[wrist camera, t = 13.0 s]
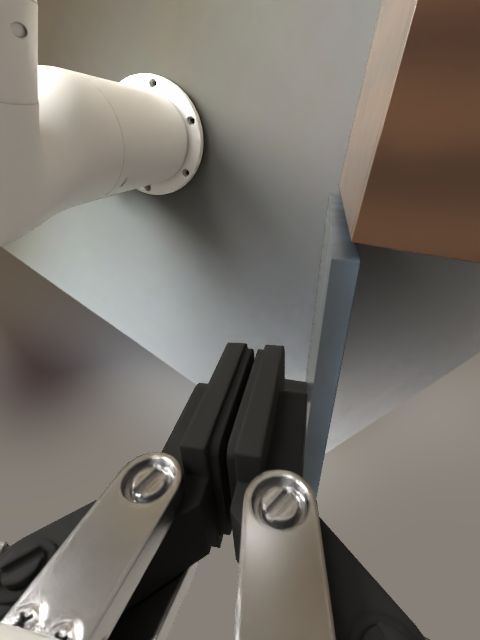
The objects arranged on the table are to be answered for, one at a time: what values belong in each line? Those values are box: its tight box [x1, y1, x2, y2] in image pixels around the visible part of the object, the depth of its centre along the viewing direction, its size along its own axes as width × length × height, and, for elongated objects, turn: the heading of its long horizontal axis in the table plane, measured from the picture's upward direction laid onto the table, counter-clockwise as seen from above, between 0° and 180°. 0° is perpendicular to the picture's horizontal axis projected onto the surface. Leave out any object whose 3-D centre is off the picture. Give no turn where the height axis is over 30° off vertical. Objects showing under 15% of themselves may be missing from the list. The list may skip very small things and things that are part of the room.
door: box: [285, 195, 360, 497], centre depth 36 cm, size 8×26×24 cm, turn 179°
